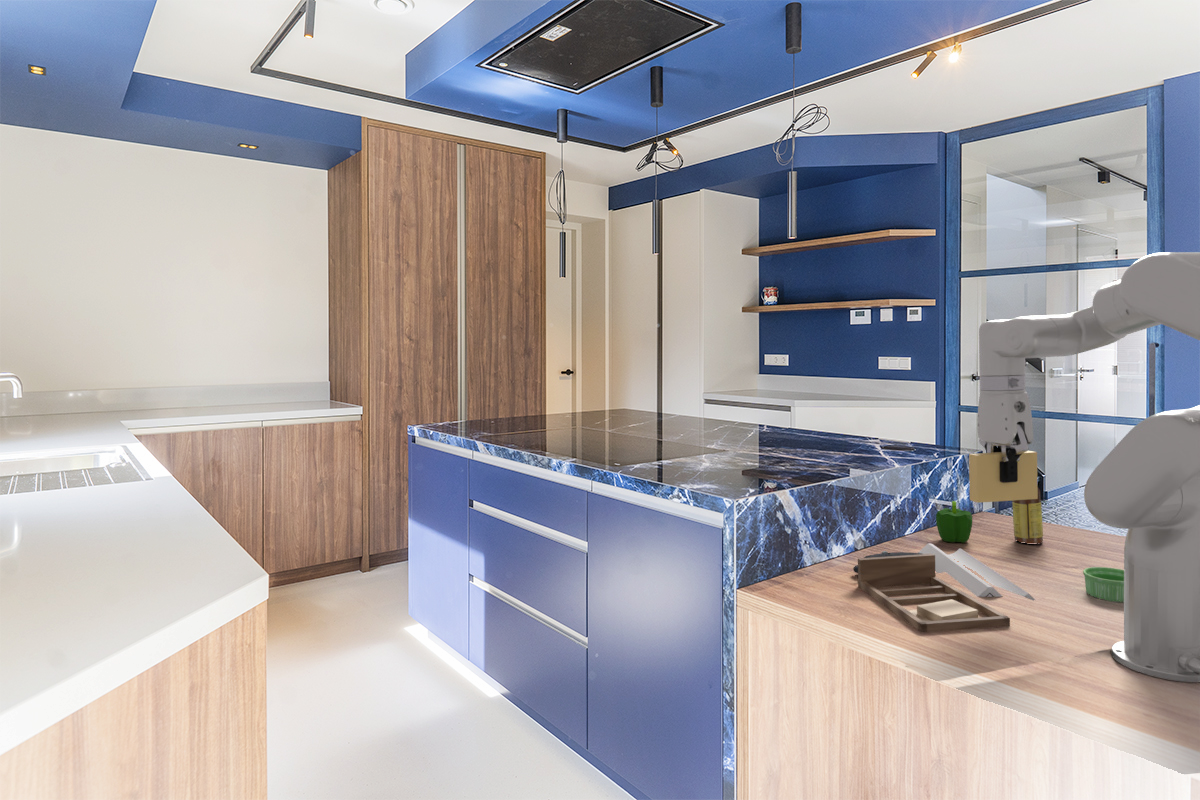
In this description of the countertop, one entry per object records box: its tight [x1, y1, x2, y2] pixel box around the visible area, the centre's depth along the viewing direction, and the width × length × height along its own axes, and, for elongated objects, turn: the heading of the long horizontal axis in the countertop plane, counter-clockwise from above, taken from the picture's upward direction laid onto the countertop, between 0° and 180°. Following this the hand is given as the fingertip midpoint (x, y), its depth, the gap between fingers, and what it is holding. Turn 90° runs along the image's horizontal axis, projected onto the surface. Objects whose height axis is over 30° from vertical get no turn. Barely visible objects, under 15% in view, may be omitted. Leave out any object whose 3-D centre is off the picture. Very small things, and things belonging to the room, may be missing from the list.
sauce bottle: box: [1011, 485, 1044, 544], centre depth 170 cm, size 7×6×20 cm
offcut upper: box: [916, 599, 979, 621], centre depth 123 cm, size 6×8×2 cm
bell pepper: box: [935, 500, 973, 543], centre depth 174 cm, size 8×8×10 cm
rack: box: [857, 554, 1011, 633], centre depth 129 cm, size 24×16×7 cm, turn 4°
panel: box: [968, 450, 1039, 504], centre depth 130 cm, size 2×12×9 cm, turn 94°
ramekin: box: [1082, 566, 1124, 603], centre depth 133 cm, size 9×9×4 cm
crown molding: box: [917, 543, 1036, 601], centre depth 147 cm, size 31×12×4 cm, turn 174°
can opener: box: [852, 550, 922, 574], centre depth 151 cm, size 18×7×6 cm, turn 107°
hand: (1003, 479), depth 130 cm, fingers closed on panel, 2 cm apart
